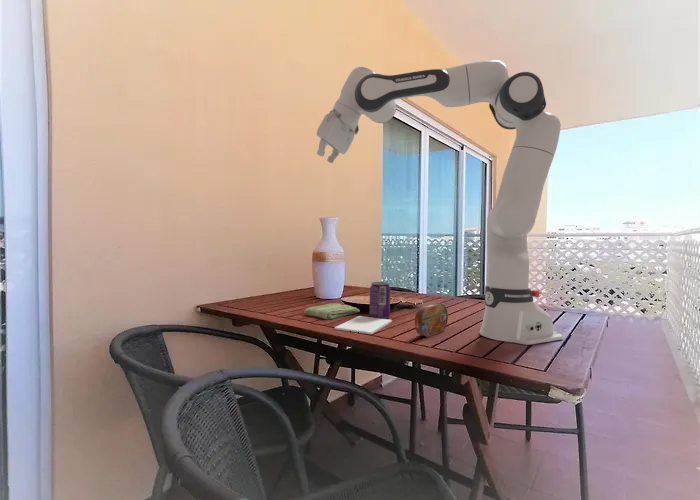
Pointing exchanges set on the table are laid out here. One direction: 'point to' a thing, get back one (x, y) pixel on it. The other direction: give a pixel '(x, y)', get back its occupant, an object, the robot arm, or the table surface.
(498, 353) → the table surface
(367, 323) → the white rectangular slab
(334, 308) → the washcloth
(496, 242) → the robot arm
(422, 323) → the tin
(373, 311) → the beverage can
